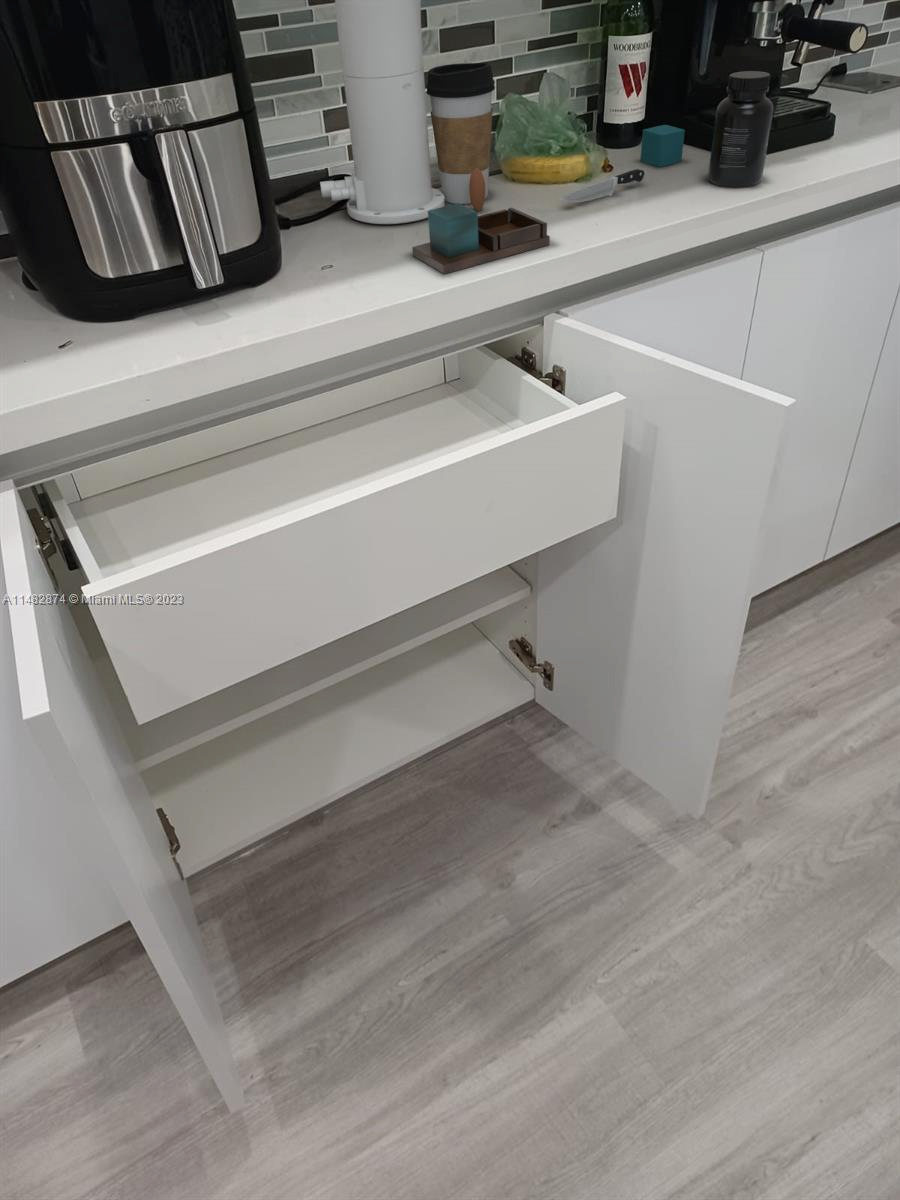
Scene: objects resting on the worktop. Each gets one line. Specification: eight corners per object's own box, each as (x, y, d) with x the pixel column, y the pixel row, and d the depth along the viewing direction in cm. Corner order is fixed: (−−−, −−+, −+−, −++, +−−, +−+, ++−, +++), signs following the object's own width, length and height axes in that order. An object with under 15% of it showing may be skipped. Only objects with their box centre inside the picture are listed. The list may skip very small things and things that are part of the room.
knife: (561, 212, 107) (561, 195, 106) (557, 211, 108) (557, 194, 107) (643, 184, 114) (644, 168, 112) (639, 183, 114) (640, 167, 113)
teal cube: (659, 167, 119) (662, 135, 116) (640, 161, 122) (642, 129, 119) (681, 161, 120) (685, 129, 118) (662, 155, 123) (665, 124, 120)
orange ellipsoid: (468, 213, 109) (466, 170, 106) (472, 208, 111) (470, 165, 107) (484, 213, 109) (482, 170, 105) (487, 208, 110) (486, 165, 107)
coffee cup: (472, 211, 110) (467, 74, 100) (420, 201, 114) (410, 69, 104) (509, 192, 115) (508, 60, 105) (458, 183, 119) (452, 56, 109)
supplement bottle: (773, 181, 112) (792, 74, 104) (733, 192, 109) (749, 83, 101) (735, 169, 116) (750, 66, 108) (696, 179, 114) (708, 74, 106)
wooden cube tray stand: (444, 274, 94) (441, 227, 91) (412, 255, 99) (408, 209, 96) (549, 244, 99) (550, 198, 96) (514, 228, 104) (514, 184, 101)
